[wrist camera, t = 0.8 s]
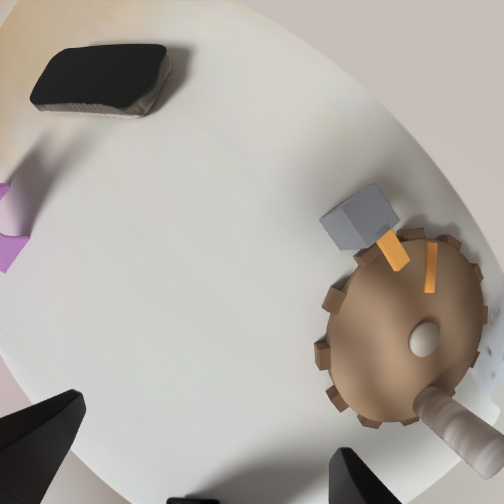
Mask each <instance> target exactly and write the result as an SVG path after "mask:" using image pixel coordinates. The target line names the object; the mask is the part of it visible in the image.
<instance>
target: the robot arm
mask: <svg viewBox="0 0 504 504" xmlns="http://www.w3.org/2000/svg"><path fill="white" fill-rule="evenodd" d="M85 413H86V405H85V401H84V397H83V394H82V393H81V392H79V391H76V390H74V389H70V390H68V391H66V392H63V393H61V394H59V395H56V396H54V397H52V398H49V399H47V400H44V401H42V402H40V403H37V404H35V405H32V406H30V407H27V408H25V409H22V410H20V411H17V412H15V413H12V414H9V415H7V416H5V417H2V418H0V504H40V503H41V501H42V499H43V497H44V495H45V493H46V491H47V489H48V487H49V485H50V484H51V482H52V480H53V478H54V476H55V474H56V472H57V471H58V469H59V467H60V465H61V463H62V461H63V460H64V458H65V456H66V454H67V452H68V451H69V449H70V447H71V445H72V444H73V441H74V439H75V437H76V434H77V432H78V429H79V427H80V425H81V422H82V420H83V418H84V415H85ZM166 504H220V502H219V501H217V500H176V499H167V501H166ZM329 504H402V503H401V502H400V501H399V500H398V499H397V498H396V497H395V496H394V495H393V494H392V493H391V491H390V490H389V489H388V488H387V487H386V486H385V485H384V484H383V483H382V482H381V481H380V480H379V479H378V478H377V476H376V475H375V474H374V473H373V472H372V471H371V470H370V469H369V468H368V467H367V465H366V464H365V463H364V462H363V461H362V460H361V459H360V458H359V456H358V455H357V454H356V453H355V452H354V451H353V450H352V449H351V448H349V447H340V448H338V449H337V451H336V452H335V454H334V455H333V457H332V458H331V460H330V463H329Z"/></svg>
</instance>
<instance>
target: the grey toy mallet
mask: <svg viewBox="0 0 504 504" xmlns="http://www.w3.org/2000/svg"><path fill="white" fill-rule="evenodd" d="M319 221H320V222H321V224H322V225H323V226H324V228H325V229H326V231H327V232H328V233H329V235H330V236H331V238H332V239H333V240H334V242H335V243H336V245H337V246H338V248H339V249H340V250H349V249H362V248H369V247H370V246H372V245H373V244H374V243H375V242H376V243H377V244H378V246H379V247H380V249H381V250H382V252H383V254H384V255H385V257H386V258H387V260H388V262H389V263H390V265H391V267H392V268H393V270H394V271H399V270H400V269H401V268H403V267H404V266H405V265H406V264H407V263H408V262H409V261H410V259H409V257H408V255H407V253H406V252H405V250H404V248H403V247H402V245H401V243H400V242H399V240H398V238H397V237H396V235H395V234H394V232H393V230H392V229H391V228H393V227H394V226H395V225H396V224H397V223H398V222H399V221H400V219H399V218H398V216H397V215H396V213H395V212H394V210H393V209H392V207H391V206H390V204H389V203H388V201H387V200H386V198H385V197H384V195H383V194H382V192H381V191H380V189H379V188H378V187H377V185H376V184H375V182H374V183H373V184H371V185H369V186H368V187H366V188H364V189H363V190H361V191H360V192H358V193H356V194H355V195H353V196H351V197H350V198H348V199H346V200H345V201H344V202H342V203H341V204H340V205H338V206H337V207H336V208H334V209H333V210H332V211H330V212H329V213H328V214H327V215H325V216H324V217H323V218H321V219H320V220H319Z"/></svg>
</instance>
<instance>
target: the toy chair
mask: <svg viewBox="0 0 504 504" xmlns="http://www.w3.org/2000/svg"><path fill="white" fill-rule="evenodd" d="M9 187H10V185H9V184H2V183H0V200H1V198H2V197H3V195H4V194H5V193H6V191H7V190H8V188H9ZM29 239H30V238H29V236H7V235H3V234H1V233H0V271H2V272H3V273H6V271H7V270H8V268H9V267H10V265H11V264H12V262H13V261H14V260H15V258H16V257H17V255H18V254H19V253H20V251H21V250H22V248H23V247H24V246H25V244H26V243H27V242H28V240H29Z"/></svg>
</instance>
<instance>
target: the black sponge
mask: <svg viewBox="0 0 504 504" xmlns="http://www.w3.org/2000/svg"><path fill="white" fill-rule="evenodd" d="M166 51H167V50H166V48H165V47H164V46H162V45H158V44H116V45H100V46H89V47H80V48H67V49H64V50H62V51H61V52H59V53H58V54H56V55H55V56H54V57H53V58H52V59H51V60H50V61H49V63H48V65H47V66H46V68H45V70H44V72H43V73H42V75H41V76H40V78H39V79H38V81H37V83H36V84H35V86H34V88H33V91H32V93H31V95H30V101H31V102H32V103H33V104H34V106H35V107H36V108H37V109H38V110H39V111H41V112H42V113H48V114H75V115H76V114H78V115H89V116H103V117H104V116H106V117H116V118H123V119H138V118H140V117H142V116H143V115H145V114H146V113H147V112H148V111H149V109H150V108H151V106H152V105H153V103H154V102H155V100H156V98H157V96H158V94H159V92H160V91H161V88H162V86H163V84H164V82H165V80H166V78H167V76H168V75H169V73H170V71H171V68H172V63H171V61H170V60H169V58H168V57H167V55H166Z"/></svg>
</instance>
